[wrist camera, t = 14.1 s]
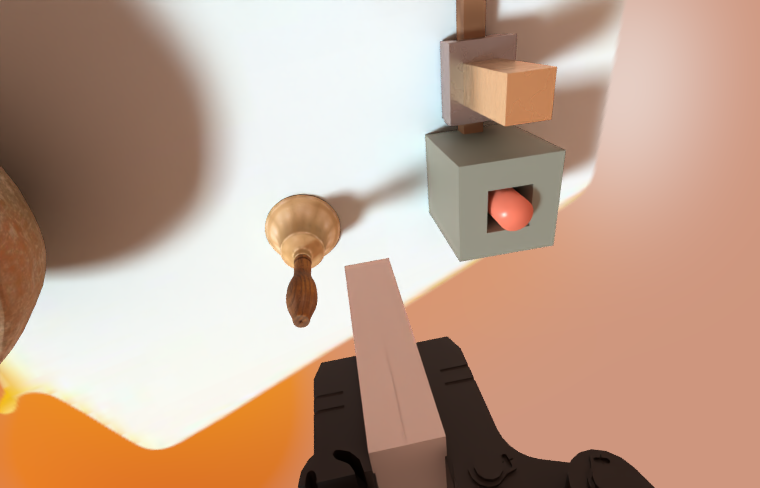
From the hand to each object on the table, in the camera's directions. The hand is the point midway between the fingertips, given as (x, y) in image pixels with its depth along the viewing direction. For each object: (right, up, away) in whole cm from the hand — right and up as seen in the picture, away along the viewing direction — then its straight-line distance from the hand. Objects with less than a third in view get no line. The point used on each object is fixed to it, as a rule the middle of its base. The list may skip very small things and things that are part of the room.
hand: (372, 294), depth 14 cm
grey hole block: (+10, +10, +30) cm, 33 cm away
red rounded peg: (+11, +8, +26) cm, 29 cm away
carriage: (+9, +18, +25) cm, 32 cm away
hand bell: (-8, +4, +30) cm, 32 cm away
